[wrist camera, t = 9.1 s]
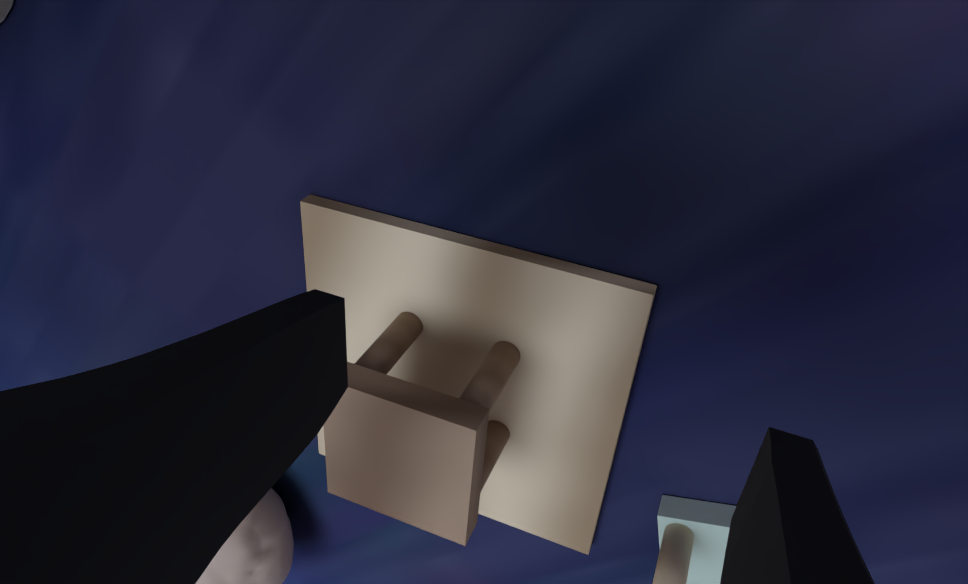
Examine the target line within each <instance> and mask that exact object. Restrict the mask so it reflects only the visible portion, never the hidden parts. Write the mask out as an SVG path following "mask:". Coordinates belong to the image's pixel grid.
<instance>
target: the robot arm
mask: <svg viewBox="0 0 968 584" xmlns="http://www.w3.org/2000/svg"><path fill="white" fill-rule="evenodd" d="M347 388H348V372H347V346H346V320H345V298H343V297H340V296H336V295H333V294H330V293H326V292H323V291H320V290H317V289H314V290H311V291H307V292H304V293H302V294H299V295H296V296H293V297H291V298H288V299H286V300H283V301H281V302H278V303H276V304H273V305H271V306H268V307H266V308H263V309H261V310H258V311H256V312H253V313H251V314H248V315H246V316H244V317H241V318H239V319H236V320H234V321H231V322H229V323H226V324H224V325H221V326H218V327H216V328H213V329H211V330H208V331H206V332H203V333H201V334H198V335H195V336H193V337H190V338H187V339H184V340H181V341H179V342H176V343H173V344H170V345H168V346H165V347H162V348H159V349H156V350H154V351H151V352H148V353H145V354H142V355H139V356H136V357H133V358H130V359H127V360H124V361H121V362H117V363H114V364H111V365H107V366H104V367H100V368H97V369H93V370H89V371H86V372H82V373H78V374H75V375H71V376H67V377H63V378H59V379H55V380H50V381H45V382H41V383H36V384H32V385H27V386H23V387H18V388H13V389H9V390H4V391H0V584H196V582H197V581H198V579H199V578H200V576H201V575H202V574H203V572H204V571H205V569H206V568H207V567H208V565H209V564H210V562H211V561H212V559H213V558H214V557H215V555H216V554H217V552H218V551H219V550H220V548H221V547H222V546H223V544H224V543H225V542H226V541H227V539H228V538H229V537H230V536H231V534H232V533H233V532H234V531H235V529H236V528H237V527H238V526H239V524H240V523H241V522H242V521H243V520H244V519H245V517H246V516H247V515H248V514H249V513H250V512H251V511H252V509H253V508H254V507H255V506H256V505H257V504H258V503H259V501H260V500H261V499H262V498H263V497H264V496H265V494H266V493H267V492H268V491H269V490H270V489H271V488H272V486H273V485H274V484H275V483H276V482H277V481H278V480H279V478H280V477H281V476H282V475H283V474H284V473H285V471H286V470H287V469H288V468H289V467H290V466H291V465H292V463H293V462H294V461H295V460H296V459H297V458H298V456H299V455H300V454H301V453H302V452H303V450H304V449H305V448H306V447H307V446H308V445H309V443H310V442H311V441H312V440H313V439H314V437H315V436H316V435H317V434H318V433H319V431H320V430H321V428H322V427H323V425H324V424H325V422H326V421H327V419H328V418H329V416H330V415H331V413H332V412H333V410H334V409H335V407H336V406H337V404H338V402H339V401H340V399H341V397H342V396H343V394H344V393H345V391H346V389H347ZM720 584H875V583H874V581H873V579H872V577H871V575H870V573H869V571H868V569H867V567H866V564H865V562H864V560H863V558H862V556H861V554H860V552H859V549H858V547H857V545H856V543H855V541H854V539H853V537H852V534H851V532H850V530H849V527H848V525H847V523H846V521H845V518H844V516H843V513H842V511H841V509H840V506H839V504H838V501H837V499H836V496H835V494H834V491H833V489H832V486H831V484H830V481H829V479H828V476H827V473H826V471H825V468H824V465H823V462H822V460H821V457H820V454H819V451H818V448H817V447H816V445H815V444H814V442H813V440H810V439H807V438H803V437H800V436H797V435H794V434H790V433H787V432H784V431H780V430H777V429H774V428H771V427H769V428H768V431H767V433H766V436H765V438H764V440H763V443H762V445H761V448H760V450H759V453H758V455H757V458H756V460H755V462H754V465H753V467H752V470H751V472H750V475H749V477H748V479H747V482H746V484H745V487H744V489H743V492H742V494H741V496H740V499H739V501H738V504H737V506H736V509H735V511H734V513H733V516H732V518H731V524H730V529H729V535H728V540H727V546H726V551H725V557H724V563H723V569H722V575H721V582H720Z"/></svg>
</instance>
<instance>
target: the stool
mask: <svg viewBox="0 0 968 584" xmlns="http://www.w3.org/2000/svg"><path fill="white" fill-rule="evenodd" d="M422 330H423V324H422V322H421V320H420V318H419V317H418V316H417V315H415V314H414V313H411V312H402V313H400V314H399V315H398V316H397V317H396V319H395V320H394V321H393V322H392V323H391V324H390V325H389V326H388V327H387V328H386V329H385V331H384V332H383V333H382V334H381V335H380V336H379V337H378V338H377V339H376V340H375V342H374V343H373V344H372V345H371V346H370V347H369V348H368V349H367V350H366V351H365V353H364V354H363V355H362V356H361V357H360V358H359V359H358V360H357V361H356V362H355V363H354V364H353V363H350V362H347V372H348V388H347V389H346V391H345V393H344V394H343V396H342V397H341V399H340V401H339V402H338V404H337V406H336V407H335V409H334V410H333V412H332V413H331V415H330V416H329V418H328V419H327V421H326V422H325V424H324V425H323V426H324V441H325V456H326V471H327V485H328V492H329V493H331V494H334V495H337V496H339V497H342V498H344V499H347V500H349V501H352V502H354V503H357V504H359V505H362V506H365V507H367V508H370V509H372V510H375V511H377V512H380V513H382V514H385V515H387V516H390V517H393V518H395V519H398V520H400V521H403V522H405V523H408V524H410V525H413V526H415V527H418V528H421V529H423V530H426V531H428V532H431V533H433V534H436V535H438V536H441V537H443V538H446V539H448V540H451V541H454V542H456V543H459V544H461V545H464V546H465V545H466V543H467V542H468V540H469V538H470V536H471V534H472V532H473V530H474V528H475V526H476V524H477V519H478V510H479V501H480V493H481V491H482V489H483V487H484V485H485V483H486V481H487V479H488V477H489V476H490V474H491V472H492V470H493V468H494V466H495V464H496V462H497V460H498V458H499V456H500V455H501V453H502V451H503V449H504V447H505V445H506V443H507V441H508V439H509V437H510V431H509V429H508V428H507V426H506V425H504V424H503V423H501V422H499V421H496V420H490V421H488V418H489V412H490V410H491V408H492V407H493V405H494V403H495V402H496V400H497V398H498V396H499V395H500V393H501V391H502V390H503V388H504V386H505V384H506V383H507V381H508V379H509V378H510V376H511V374H512V372H513V371H514V369H515V367H516V366H517V364H518V362H519V361H520V352H519V350H518V348H517V347H516V346H515V345H514V344H512V343H510V342H508V341H499V342H497V343H495V344H494V346H493V347H492V349H491V350H490V352H489V353H488V355H487V356H486V358H485V359H484V361H483V362H482V364H481V366H480V367H479V369H478V370H477V372H476V373H475V375H474V376H473V378H472V379H471V381H470V382H469V384H468V385H467V387H466V388H465V390H464V391H463V393H462V394H461V396H460V397H459V398H456V397H453V396H450V395H447V394H444V393H441V392H438V391H435V390H432V389H429V388H426V387H423V386H420V385H417V384H414V383H411V382H408V381H405V380H402V379H399V378H396V377H392V376H389V375H387V373H388V372H389V371H390V370H391V369H392V367H393V366H394V365H395V364H396V363H397V361H398V360H399V359H400V358H401V357H402V355H403V354H404V353H405V352H406V351H407V349H408V348H409V347H410V346H411V345H412V343H413V342H414V341H415V340H416V338H417V337H418V336H419V335H420V334H421V332H422Z"/></svg>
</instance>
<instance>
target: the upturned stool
mask: <svg viewBox="0 0 968 584" xmlns="http://www.w3.org/2000/svg"><path fill="white" fill-rule="evenodd" d="M735 509H736V506H733V505H726V504H720V503H713V502H707V501H700V500H693V499H687V498H680V497H674V496H667V495H662V498H661V502H660V507H659V511H658V515H657V518H658V531H659V545H660V552H659V557H658V561H657V566H656V570H655V575H654V579H653V584H720V582H721V575H722V569H723V563H724V557H725V551H726V546H727V540H728V535H729V529H730V524H731V518H732V516H733V513H734V511H735Z"/></svg>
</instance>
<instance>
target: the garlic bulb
mask: <svg viewBox="0 0 968 584" xmlns="http://www.w3.org/2000/svg"><path fill="white" fill-rule="evenodd" d="M293 546H294V543H293V535H292V529H291V524H290V520H289V518H288V516H287V513H286V509H285V506H284V504H283V501H282V500H281V498H280V496H279V495H278V494H277V493H276V492H275V491H274V490H273V489H272V488H271V489H270V490H269V491H268V492H267V493H266V494H265V496H264V497H263V498H262V499H261V500H260V501H259V503H258V504H257V505H256V506H255V507H254V508H253V509H252V511H251V512H250V513H249V514H248V515H247V516H246V517H245V519H244V520H243V521H242V522H241V523H240V524H239V526H238V527H237V528H236V529H235V531H234V532H233V533H232V534H231V536H230V537H229V538H228V539H227V541H226V542H225V543H224V544H223V546H222V547H221V548H220V550H219V551H218V552H217V554H216V555H215V557H214V558H213V559H212V561H211V562H210V564H209V565H208V567H207V568H206V569H205V571H204V572H203V574H202V575H201V576H200V578H199V579H198V581H197V582H196V584H282V583H283V582H284V580H285V579H286V577H287V575H288V573H289V571H290V568H291V565H292V560H293Z"/></svg>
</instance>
